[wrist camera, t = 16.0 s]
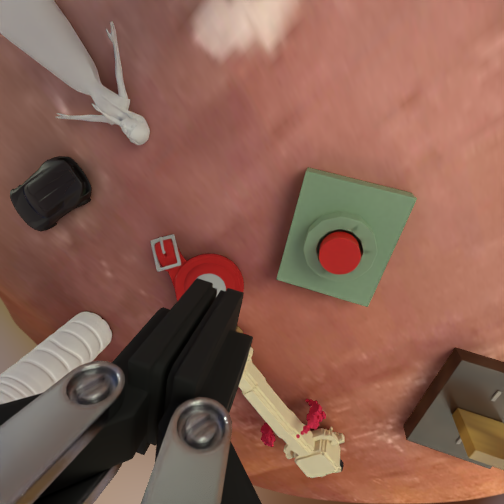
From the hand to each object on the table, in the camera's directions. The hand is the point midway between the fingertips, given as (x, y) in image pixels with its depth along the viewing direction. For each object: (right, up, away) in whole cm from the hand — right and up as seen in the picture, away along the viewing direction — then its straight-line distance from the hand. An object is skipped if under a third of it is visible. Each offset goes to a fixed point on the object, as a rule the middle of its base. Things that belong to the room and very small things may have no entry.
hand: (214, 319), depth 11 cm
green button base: (+10, +4, +22) cm, 24 cm away
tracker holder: (-5, 0, +27) cm, 28 cm away
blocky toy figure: (+6, -18, +33) cm, 38 cm away
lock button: (+9, +3, +18) cm, 21 cm away
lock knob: (+27, -17, +24) cm, 40 cm away
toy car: (-23, +10, +28) cm, 37 cm away
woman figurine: (-15, +21, +21) cm, 33 cm away
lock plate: (+27, -16, +26) cm, 41 cm away
